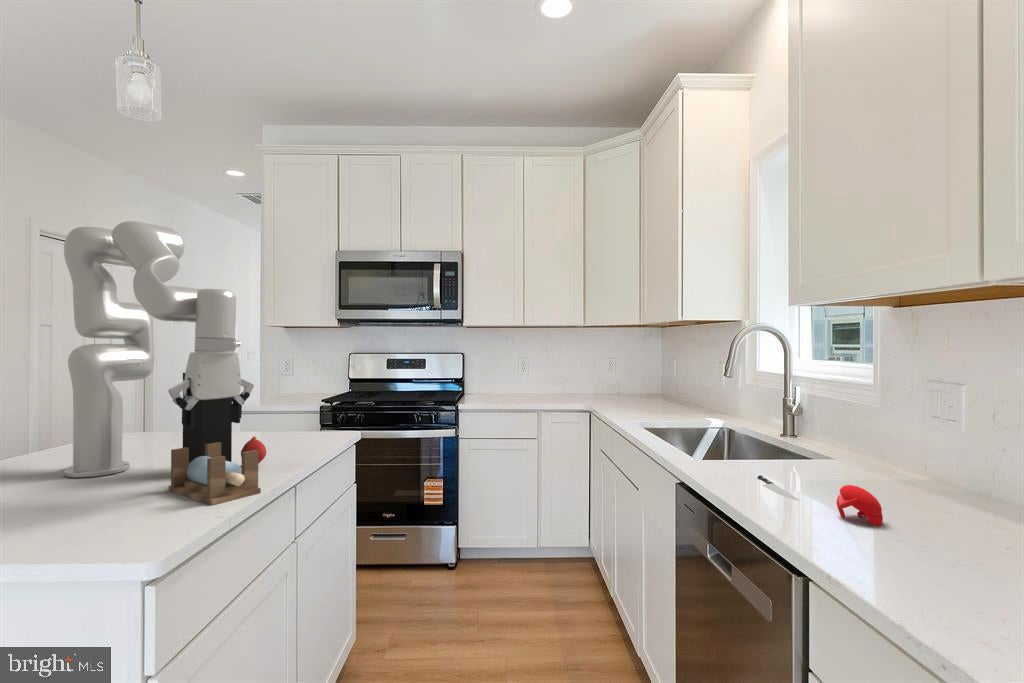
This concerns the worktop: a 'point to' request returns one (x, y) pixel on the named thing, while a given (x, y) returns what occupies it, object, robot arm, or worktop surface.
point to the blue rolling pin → (199, 472)
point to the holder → (213, 476)
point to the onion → (255, 448)
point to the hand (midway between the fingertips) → (212, 425)
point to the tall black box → (209, 427)
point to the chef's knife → (776, 488)
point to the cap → (860, 503)
